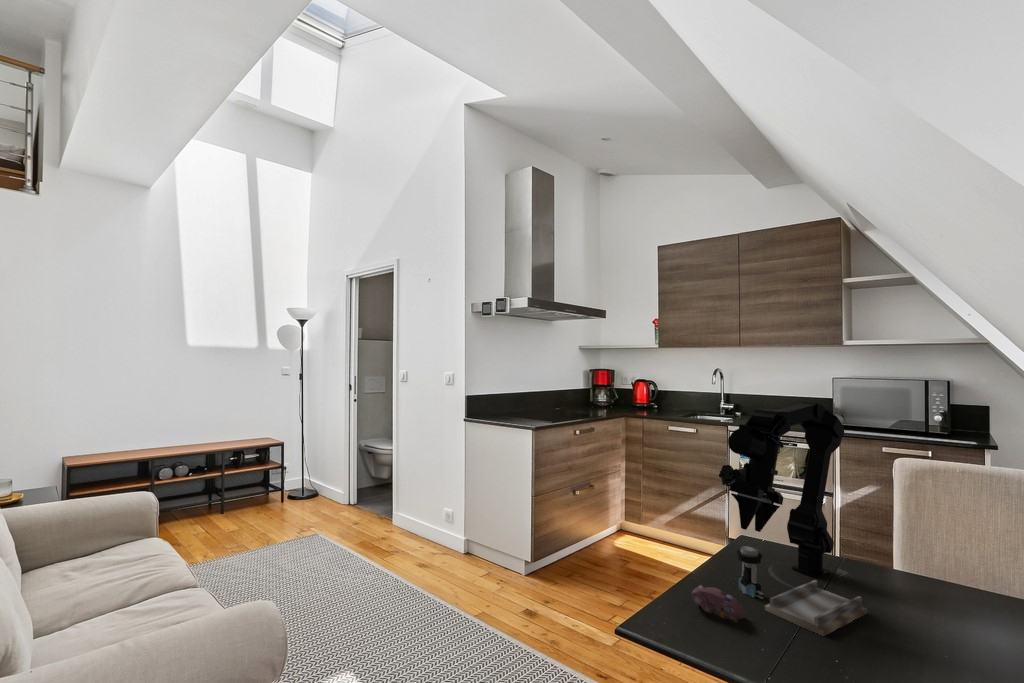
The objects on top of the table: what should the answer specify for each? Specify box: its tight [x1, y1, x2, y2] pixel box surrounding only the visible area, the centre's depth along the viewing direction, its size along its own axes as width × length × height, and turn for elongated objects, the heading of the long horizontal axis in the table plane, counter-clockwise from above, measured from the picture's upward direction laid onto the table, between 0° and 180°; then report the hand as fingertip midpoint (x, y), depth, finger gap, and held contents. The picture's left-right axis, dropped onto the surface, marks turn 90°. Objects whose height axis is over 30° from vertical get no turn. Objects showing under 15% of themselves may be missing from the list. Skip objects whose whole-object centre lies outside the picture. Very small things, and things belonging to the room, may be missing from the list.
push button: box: [736, 545, 764, 600], centre depth 119 cm, size 7×5×10 cm
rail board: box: [764, 579, 868, 637], centre depth 111 cm, size 18×12×3 cm, turn 123°
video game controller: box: [690, 584, 745, 620], centre depth 109 cm, size 10×5×7 cm, turn 47°
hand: (750, 530), depth 119 cm, fingers open, 9 cm apart
